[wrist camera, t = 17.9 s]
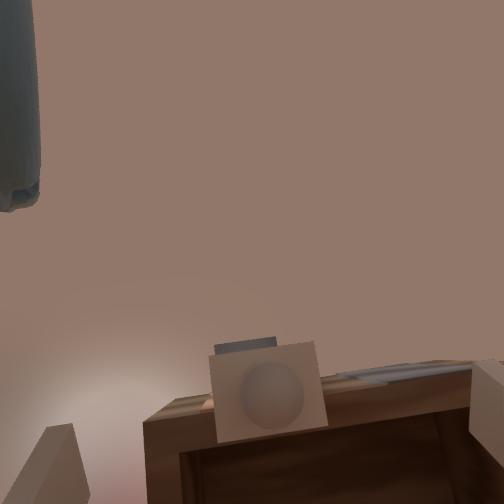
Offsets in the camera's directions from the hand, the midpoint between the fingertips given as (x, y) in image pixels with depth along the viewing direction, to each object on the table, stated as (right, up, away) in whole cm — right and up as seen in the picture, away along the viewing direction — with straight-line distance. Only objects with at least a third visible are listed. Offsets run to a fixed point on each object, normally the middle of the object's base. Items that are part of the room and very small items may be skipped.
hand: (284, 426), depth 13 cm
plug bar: (-1, -4, +12) cm, 12 cm away
